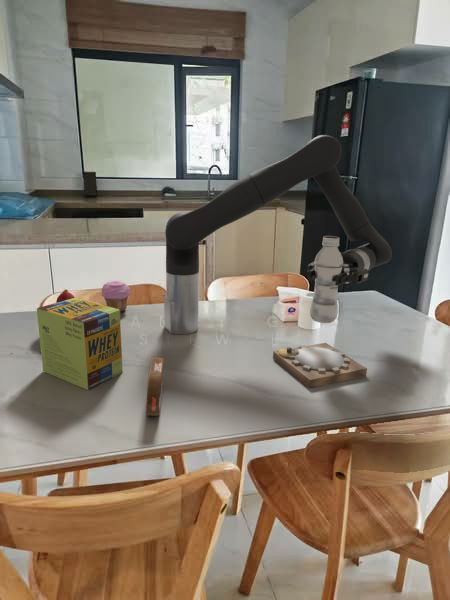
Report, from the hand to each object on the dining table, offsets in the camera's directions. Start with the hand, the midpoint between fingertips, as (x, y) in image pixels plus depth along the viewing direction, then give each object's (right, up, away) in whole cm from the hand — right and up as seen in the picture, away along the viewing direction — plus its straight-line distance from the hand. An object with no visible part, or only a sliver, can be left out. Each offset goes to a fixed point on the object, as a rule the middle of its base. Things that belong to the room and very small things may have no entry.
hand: (323, 278), depth 97 cm
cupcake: (-57, -9, +43) cm, 72 cm away
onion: (-72, -9, +39) cm, 82 cm away
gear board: (+1, -21, +9) cm, 23 cm away
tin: (-36, -26, -9) cm, 45 cm away
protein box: (-55, -22, +3) cm, 59 cm away
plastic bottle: (+1, -10, +5) cm, 11 cm away
